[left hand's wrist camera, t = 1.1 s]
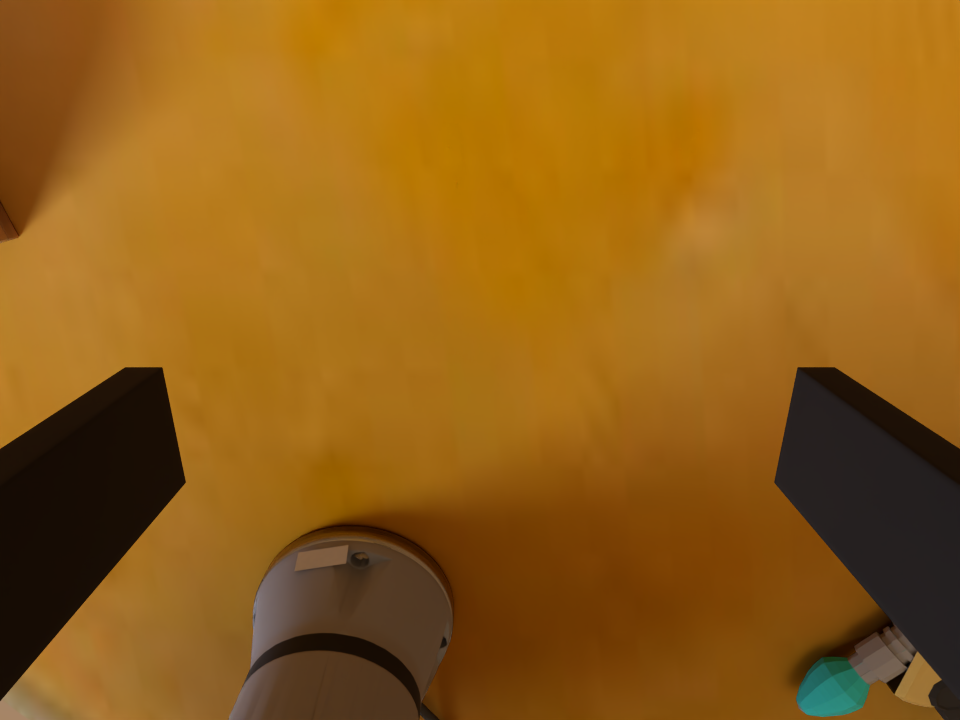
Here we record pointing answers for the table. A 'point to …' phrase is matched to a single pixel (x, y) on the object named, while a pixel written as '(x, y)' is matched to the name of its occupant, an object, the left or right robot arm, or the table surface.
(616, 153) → the table surface
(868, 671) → the toy gun
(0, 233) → the cabinet
